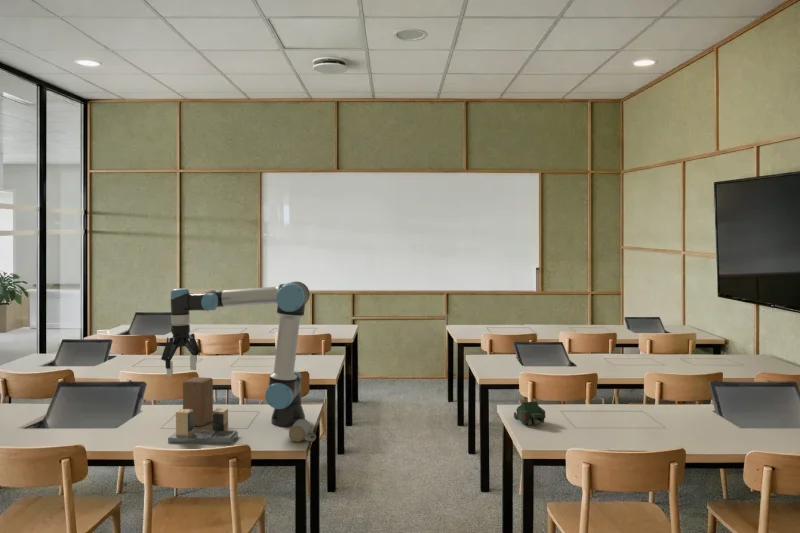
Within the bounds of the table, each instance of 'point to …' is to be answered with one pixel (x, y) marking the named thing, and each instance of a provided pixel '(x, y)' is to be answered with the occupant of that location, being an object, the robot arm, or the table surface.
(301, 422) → the ceramic mug
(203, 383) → the wooden block
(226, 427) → the finger block
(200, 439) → the grey base plate
